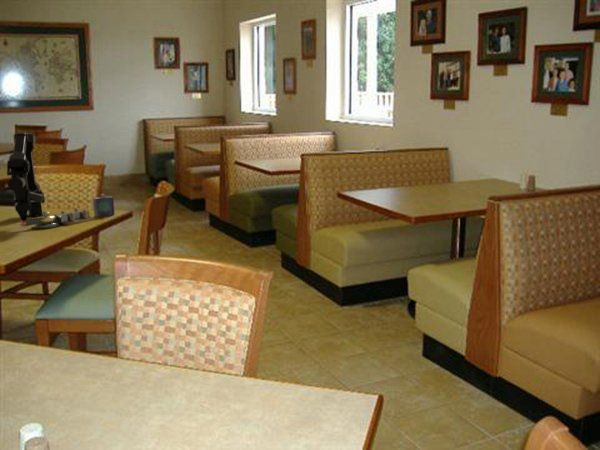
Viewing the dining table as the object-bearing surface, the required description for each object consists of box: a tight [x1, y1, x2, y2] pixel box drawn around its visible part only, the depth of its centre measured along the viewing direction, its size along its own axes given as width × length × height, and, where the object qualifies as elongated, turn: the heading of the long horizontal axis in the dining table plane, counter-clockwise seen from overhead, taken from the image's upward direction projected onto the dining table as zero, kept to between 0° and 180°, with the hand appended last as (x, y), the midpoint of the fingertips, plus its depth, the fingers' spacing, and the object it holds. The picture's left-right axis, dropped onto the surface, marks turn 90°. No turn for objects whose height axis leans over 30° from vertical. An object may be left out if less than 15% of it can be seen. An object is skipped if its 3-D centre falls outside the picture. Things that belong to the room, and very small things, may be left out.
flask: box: [92, 193, 115, 218], centre depth 290 cm, size 9×3×11 cm, turn 115°
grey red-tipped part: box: [19, 214, 55, 227], centre depth 267 cm, size 15×7×3 cm, turn 141°
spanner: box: [53, 209, 90, 222], centre depth 279 cm, size 5×16×3 cm, turn 147°
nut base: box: [34, 211, 60, 230], centre depth 270 cm, size 10×10×6 cm
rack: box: [59, 207, 95, 226], centre depth 280 cm, size 9×14×5 cm, turn 147°
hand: (24, 222), depth 265 cm, fingers closed
